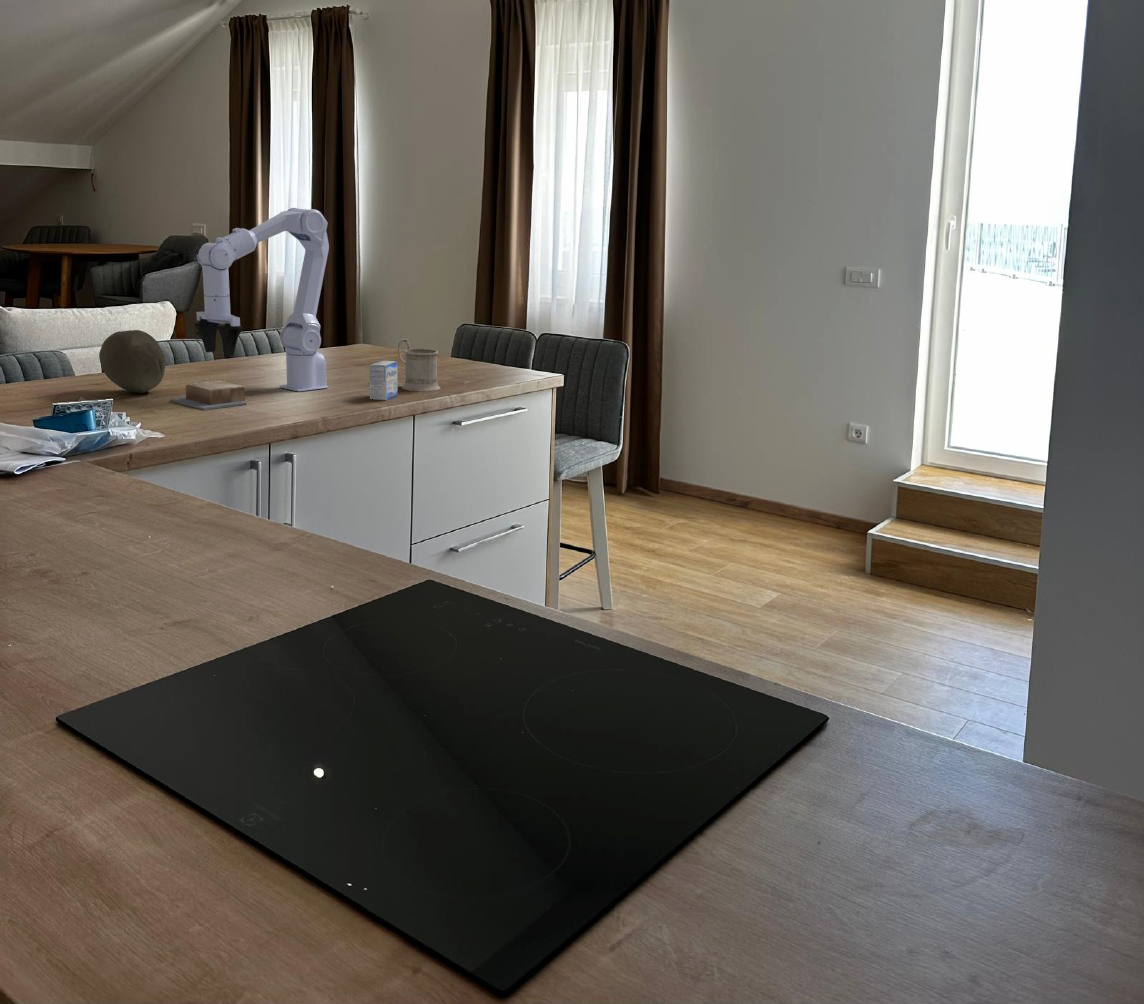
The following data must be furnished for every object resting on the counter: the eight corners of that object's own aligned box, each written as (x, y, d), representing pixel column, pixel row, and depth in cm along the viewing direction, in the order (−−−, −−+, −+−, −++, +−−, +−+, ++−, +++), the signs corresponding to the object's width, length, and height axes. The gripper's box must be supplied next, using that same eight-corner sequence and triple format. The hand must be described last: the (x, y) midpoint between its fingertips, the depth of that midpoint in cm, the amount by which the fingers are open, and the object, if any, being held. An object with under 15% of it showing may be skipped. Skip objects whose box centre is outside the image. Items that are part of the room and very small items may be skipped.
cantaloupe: (150, 386, 275) (147, 325, 271) (176, 394, 265) (173, 331, 261) (93, 391, 265) (88, 328, 261) (118, 400, 256) (113, 335, 252)
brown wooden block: (219, 380, 264) (185, 383, 257) (244, 385, 258) (210, 389, 251) (220, 394, 265) (186, 398, 258) (244, 400, 259) (210, 405, 252)
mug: (447, 389, 289) (448, 342, 286) (418, 392, 282) (418, 345, 279) (412, 381, 298) (413, 336, 295) (383, 384, 291) (383, 338, 288)
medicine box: (386, 401, 269) (386, 365, 267) (369, 399, 270) (368, 364, 268) (397, 395, 276) (397, 361, 274) (380, 394, 277) (380, 359, 275)
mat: (211, 395, 266) (211, 393, 265) (246, 404, 257) (246, 402, 257) (170, 401, 257) (170, 398, 257) (204, 410, 249) (204, 408, 249)
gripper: (183, 293, 260) (187, 351, 264) (220, 299, 251) (223, 359, 255) (210, 292, 265) (213, 349, 269) (246, 297, 257) (249, 356, 260)
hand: (219, 353), depth 262 cm, fingers open, 7 cm apart
